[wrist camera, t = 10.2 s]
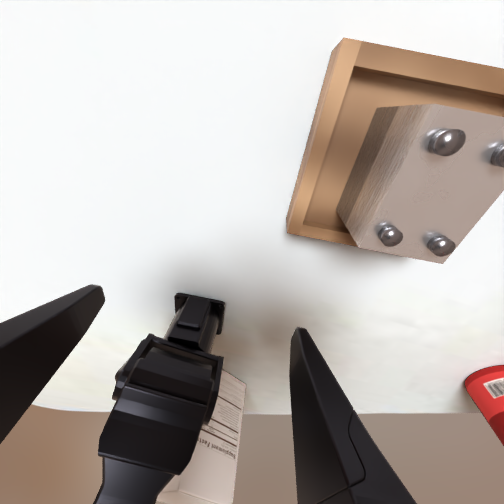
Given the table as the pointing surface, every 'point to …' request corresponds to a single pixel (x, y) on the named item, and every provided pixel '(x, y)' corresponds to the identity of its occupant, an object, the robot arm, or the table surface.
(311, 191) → the wooden tray
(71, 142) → the table surface
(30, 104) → the table surface
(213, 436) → the supplement box
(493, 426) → the canned food
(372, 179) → the housing
